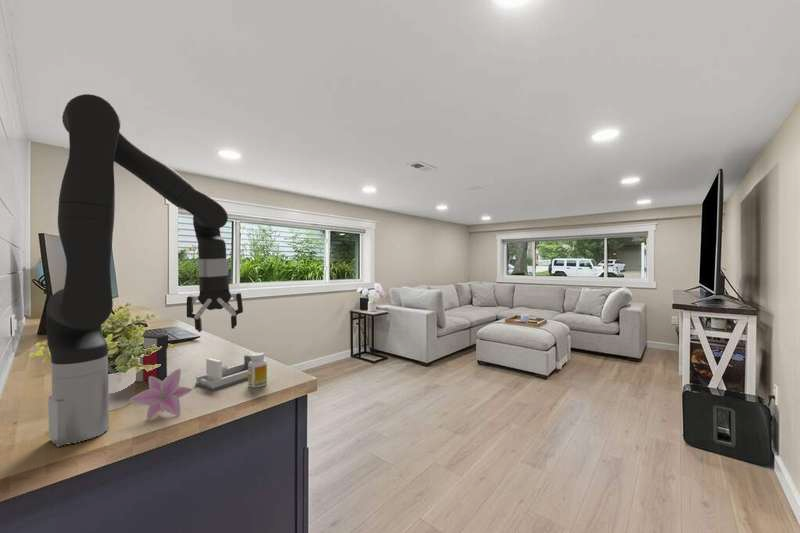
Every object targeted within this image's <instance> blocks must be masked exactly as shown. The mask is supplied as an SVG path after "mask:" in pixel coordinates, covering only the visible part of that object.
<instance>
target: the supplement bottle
mask: <svg viewBox="0 0 800 533" xmlns="http://www.w3.org/2000/svg"><path fill="white" fill-rule="evenodd" d="M250 356H251V358H250V359H251V361H250V362H249V363H248V381H247V382H248V387H250V388H260V387H263V386H266V385H267V384H268V383H267V382H268V376H267V375H268V370H267V369H268V368H267V366H268V365H267V364H268V362H267V360H266V359H265V352H253V353H251V354H250Z"/></svg>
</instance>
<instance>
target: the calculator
mask: <svg viewBox="0 0 800 533" xmlns="http://www.w3.org/2000/svg"><path fill="white" fill-rule="evenodd" d="M153 344H155V345H157V346H158V347H160V346H162V348H161V349H160V350H158V351H156V352H154V353H152V354H151V355H149V356H144V357H142V358H140V364H142V365H155V364H161V366H160V367H158V368H155V369H153V370H150V371H148V372H147V371H146V370H145V369H141V370H140V371H139V372H137V373H136V382H137V383H143V382H146V383H145V384H149V376H152V377H155V378H157V379H159V380H161V381H163V380H164V379H165V378H166V377H167V376H168V367H167V365H168V358H167V355H168V354H167V353H168V348H169V335H168V334H157V333H144V343H143V347H144V348H148V347H151V346H152V345H153Z"/></svg>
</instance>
